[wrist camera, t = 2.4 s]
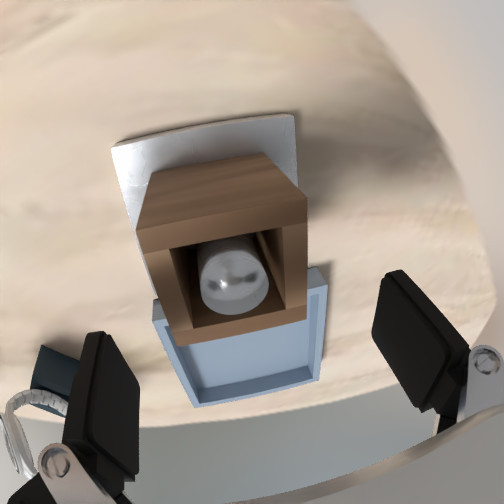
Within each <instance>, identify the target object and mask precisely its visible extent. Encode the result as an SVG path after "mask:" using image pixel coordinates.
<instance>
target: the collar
mask: <svg viewBox="0 0 504 504" xmlns="http://www.w3.org/2000/svg"><path fill="white" fill-rule="evenodd" d="M135 231H136V234H137V238H138V241H139V244H140V247H141V250H142V253H143V256H144V259H145V262H146V265H147V268H148V271H149V274H150V276H151V279H152V282H153V285H154V288H155V290H156V293H157V296H158V298H159V301H160V304H161V306H162V309H163V312H164V314H165V317H166V319H167V322H168V324H169V327H170V329H171V332H172V334H173V337H174V339H175V342H176V344H177V346H178V347H179V346H185V345H190V344H196V343H201V342H207V341H212V340H217V339H222V338H227V337H232V336H237V335H241V334H246V333H251V332H255V331H260V330H264V329H269V328H273V327H277V326H282V325H286V324H290V323H294V322H298V321H302V320H306V319H307V272H308V235H307V198H306V197H305V196H304V194H303V193H302V192H301V191H300V190H299V189H298V188H297V187H296V186H295V185H294V184H293V183H292V182H291V180H290V179H289V178H288V177H287V176H286V175H285V174H284V173H283V172H282V171H281V170H280V169H279V168H278V167H277V166H276V165H275V164H274V163H273V162H272V161H271V160H270V159H269V157H268V156H267V155H266V154H265V153H257V154H250V155H243V156H237V157H231V158H225V159H219V160H213V161H208V162H202V163H197V164H192V165H187V166H182V167H177V168H172V169H167V170H163V171H158V172H154V173H151V176H150V179H149V182H148V186H147V189H146V193H145V196H144V200H143V203H142V207H141V211H140V214H139V218H138V222H137V226H136V230H135ZM253 232H254V233H255V237H251V239H252V241H253V243H254V246H255V248H256V251H257V253H258V256H259V258H260V261H261V263H262V265H263V268H264V270H265V273H266V275H267V278H268V282H269V287H268V292H267V294H266V296H265V298H264V299H263V301H262V302H261V303H260V304H259V305H258V306H256V307H255V308H253V309H252V310H250V311H248V312H245V313H241V314H236V315H225V314H220V313H217V312H215V311H213V310H211V309H210V308H209V307H208V306H207V305H206V304H205V303H204V301H203V299H202V296H201V289H200V280H199V271H198V262H197V253H196V248H195V249H190V250H187V246H186V245H191V244H196V243H201V242H206V241H211V240H216V239H221V238H227V237H232V236H237V235H242V234H247V233H253Z"/></svg>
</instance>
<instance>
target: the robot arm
mask: <svg viewBox="0 0 504 504" xmlns="http://www.w3.org/2000/svg"><path fill="white" fill-rule="evenodd" d="M371 333H372V338H373V340H374V342H375V343H376V345H377V347H378V348H379V350H380V351H381V353H382V355H383V356H384V358H385V359H386V361H387V363H388V364H389V366H390V368H391V369H392V371H393V373H394V374H395V376H396V377H397V379H398V381H399V382H400V384H401V386H402V387H403V389H404V391H405V392H406V394H407V395H408V397H409V399H410V401H411V402H412V404H413V406H414V407H417V408H419V409H420V411H421V413H423V412H425V411H427V410H429V409H431V408H434V409H435V411H436V419H435V423H434V428H433V433H432V437H431V438H429V439H427V440H425V441H423V442H421V443H419V444H417V445H416V446H413V447H411V448H409V449H407V450H405V451H403V452H401V453H398V454H396V455H394V456H392V457H389V458H387V459H385V460H383V461H380V462H378V463H375V464H373V465H371V466H368V467H365V468H363V469H360V470H357V471H354V472H352V473H349V474H346V475H343V476H340V477H337V478H334V479H331V480H328V481H325V482H322V483H318V484H315V485H312V486H308V487H304V488H301V489H297V490H293V491H289V492H285V493H281V494H276V495H272V496H267V497H262V498H257V499H252V500H247V501H240V502H234V503H227V504H504V361H503V358H502V356H501V354H500V353H499V352H498V351H497V350H496V349H494V348H493V347H490V346H487V345H479V346H476V347H475V348H473V349H472V350H470V349H469V345H468V344H467V342H466V341H465V340H464V339H463V337H462V336H461V335H460V334H459V333H458V331H457V330H456V329H455V328H454V327H453V325H452V324H451V323H450V322H449V321H448V320H447V318H446V317H445V316H444V315H443V314H442V313H441V312H440V310H439V309H438V308H437V307H436V306H435V305H434V304H433V302H432V301H431V300H430V299H429V298H428V297H427V296H426V295H425V294H424V292H423V291H422V290H421V289H420V288H419V287H418V286H417V285H416V284H415V283H414V282H413V281H412V279H411V278H410V277H409V276H408V275H407V274H406V273H405V272H404V271H403V270H396V271H392V272H388V273H386V274H385V277H384V278H383V279H382V280H381V285H380V290H379V296H378V301H377V307H376V312H375V317H374V322H373V326H372V332H371ZM139 404H140V386H139V383H138V381H137V379H136V378H135V376H134V374H133V373H132V371H131V369H130V368H129V366H128V364H127V363H126V361H125V359H124V358H123V356H122V354H121V352H120V351H119V349H118V347H117V345H116V344H115V342H114V340H113V338H112V337H111V335H110V334H108V335H107V334H106V333H105V332H104V331H98V332H91V333H88V334H87V335H86V338H85V342H84V346H83V350H82V354H81V358H80V362H79V367H78V371H77V373H76V374H75V376H74V378H73V382H72V387H71V392H70V397H69V402H68V407H67V413H66V418H65V424H64V431H63V437H62V444H60V443H54V444H50V445H48V446H46V447H45V448H44V449H43V450H42V451H41V453H40V455H39V457H38V470H39V472H38V473H37V474H36V475H35V476H34V477H33V478H31V479H30V480H29V481H28V482H27V483H26V484H25V485H23V486H22V487H21V488H20V489H19V490H18V491H16V492H15V493H14V494H13V495H12V496H11V497H10V498H9V500H8V503H7V504H136V503H135V502H134V501H133V500H132V499H131V498H130V497H129V496H128V495H127V493H126V492H125V491H124V482H132V481H133V482H134V481H135V475H136V474H138V473H139Z"/></svg>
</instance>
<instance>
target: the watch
mask: <svg viewBox="0 0 504 504" xmlns="http://www.w3.org/2000/svg"><path fill="white" fill-rule="evenodd" d="M79 362H80V361H78V360H76V359H73V358H71V357H68V356H66V355H64V354H61V353H59V352H57V351H54V350H52V349H50V348H48V347H45V346H43V345H41V348H40V351H39V355H38V358H37V361H36V364H35V367H34V371H33V375H32V380H31V386H30V390H24V391H22V392H19V393H17V394H16V395H14V396H13V397H12V398H11V399H10V400H9V401H8V402H7V404H6V409H5V414H3V413H0V423H1V429H2V433H3V436H4V440H5V443H6V446H7V449H8V452H9V455H10V457H11V460H12V462H13V464H14V466H15V468H16V470H17V472H18V473H19V475H23V474H24V475H25V476H26V477H27V478H28V479H29V480H30V479H31V478H33V477H34V476H35V475H36V474H37V470H36V469H35V467H34V463H33V459H32V455H31V451H30V448H29V445H28V442H27V440H26V437H25V434H24V431H23V428H22V426H21V424H20V422H19V420H18V418H17V417H16V415H15V414H13V412H14V410H16V409H18V408H19V407H21V405H22V406H23V405H26V404H31V405H33V406H36V407H38V408H41V409H43V410H46V411H48V412H51V413H53V414H56V415H59V416H61V417H64V418H66V413H67V407H68V402H69V397H70V392H71V387H72V382H73V378H74V376H75V374H76V373H77V371H78V367H79Z"/></svg>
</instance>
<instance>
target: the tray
mask: <svg viewBox="0 0 504 504" xmlns="http://www.w3.org/2000/svg"><path fill="white" fill-rule="evenodd" d="M327 290H328V284H327V283H326V281H325V279H324V278H323V276H322V275H321V273H320V271H319V270H318V268H317V267H314V268H310V269H308V272H307V319H306V320H302V321H298V322H294V323H290V324H286V325H282V326H277V327H273V328H269V329H264V330H260V331H255V332H251V333H246V334H241V335H237V336H232V337H227V338H222V339H217V340H212V341H207V342H201V343H196V344H190V345H185V346H179V347H178V346H177V344H176V342H175V339H174V337H173V334H172V332H171V329H170V327H169V324H168V322H167V319H166V317H165V314H164V312H163V309H162V306H161V304H160V301H159V299H158V300H153V316H152V322H153V324H154V326H155V329H156V331H157V333H158V335H159V338H160V340H161V342H162V344H163V346H164V349H165V351H166V353H167V355H168V357H169V359H170V361H171V363H172V365H173V367H174V369H175V372H176V374H177V376H178V378H179V380H180V382H181V384H182V385H183V387H184V389H185V391H186V393H187V395H188V397H189V399H190V401H191V403H192V405H193V406H194V408H198V407H204V406H210V405H215V404H221V403H226V402H232V401H237V400H241V399H246V398H251V397H255V396H260V395H264V394H269V393H273V392H277V391H281V390H285V389H289V388H293V387H296V386H300V385H304V384H307V383H311V382H314V381H318V380H319V375H320V366H321V358H322V348H323V338H324V327H325V316H326V303H327Z"/></svg>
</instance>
